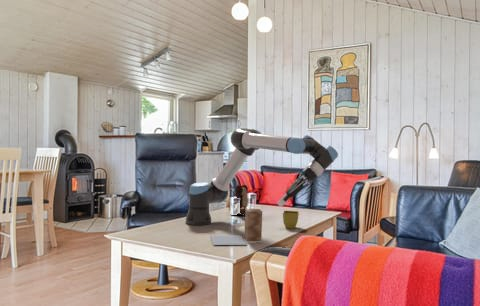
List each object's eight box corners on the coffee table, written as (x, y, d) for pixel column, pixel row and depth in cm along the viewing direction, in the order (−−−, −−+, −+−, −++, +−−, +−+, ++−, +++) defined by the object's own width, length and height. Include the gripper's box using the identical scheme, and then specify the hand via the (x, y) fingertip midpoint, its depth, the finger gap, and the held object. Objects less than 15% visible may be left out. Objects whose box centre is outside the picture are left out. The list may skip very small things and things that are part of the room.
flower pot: (297, 229, 215) (298, 213, 215) (282, 228, 217) (282, 212, 217) (298, 226, 224) (299, 211, 224) (283, 225, 226) (284, 210, 226)
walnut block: (246, 242, 182) (247, 211, 182) (244, 239, 189) (245, 208, 188) (261, 242, 183) (262, 211, 183) (258, 239, 190) (259, 209, 190)
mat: (213, 246, 174) (213, 244, 174) (210, 236, 191) (210, 235, 191) (246, 245, 176) (246, 244, 176) (240, 236, 194) (240, 235, 194)
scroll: (244, 217, 248) (245, 186, 247) (225, 214, 255) (226, 185, 255) (255, 214, 260) (256, 185, 260) (237, 212, 268) (238, 183, 268)
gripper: (322, 178, 183) (287, 212, 181) (312, 176, 196) (280, 208, 194) (312, 166, 183) (277, 201, 180) (303, 165, 195) (270, 197, 193)
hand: (278, 204), depth 187 cm, fingers closed
